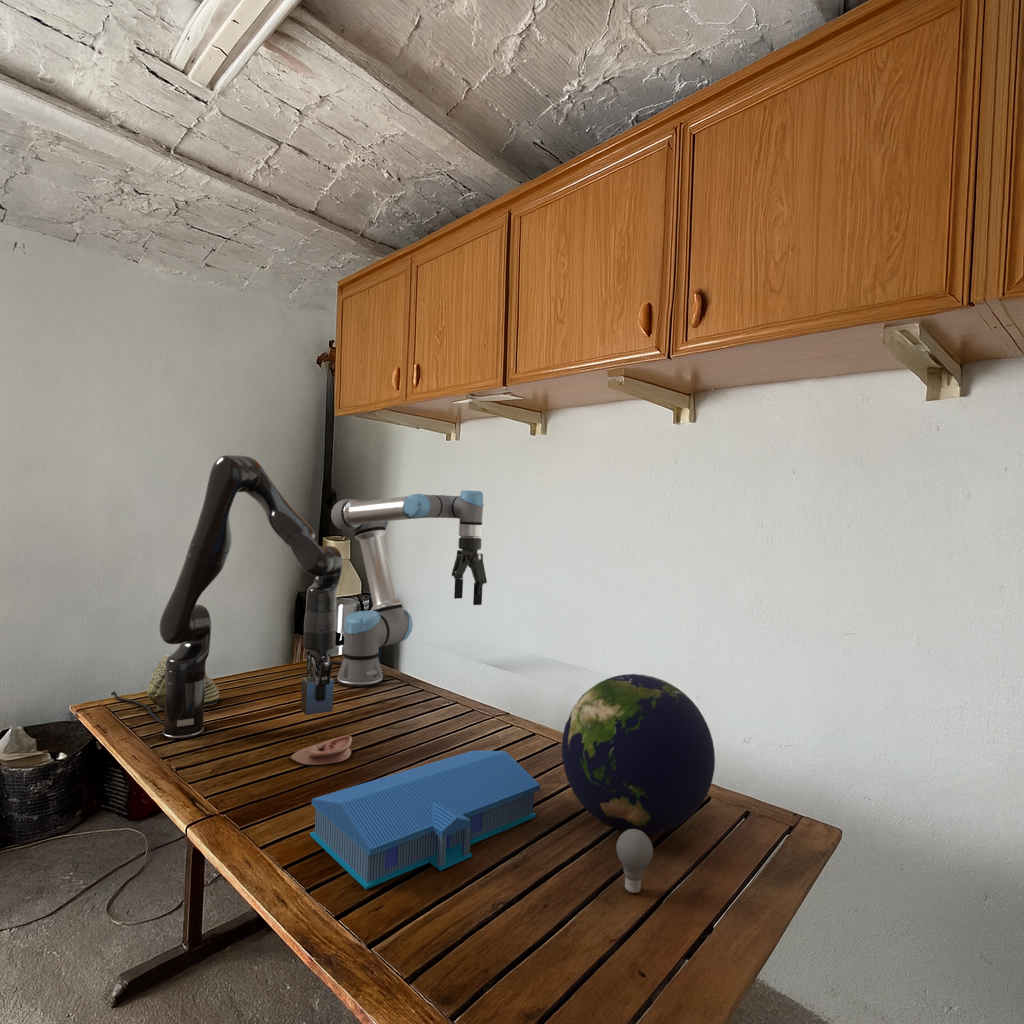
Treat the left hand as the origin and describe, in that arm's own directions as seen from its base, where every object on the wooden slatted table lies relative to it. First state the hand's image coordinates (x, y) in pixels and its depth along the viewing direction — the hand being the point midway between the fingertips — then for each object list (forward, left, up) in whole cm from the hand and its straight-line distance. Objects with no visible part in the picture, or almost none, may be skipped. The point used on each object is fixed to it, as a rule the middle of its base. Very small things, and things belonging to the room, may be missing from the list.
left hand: (317, 697), depth 155 cm
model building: (+46, +2, -14) cm, 48 cm away
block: (0, 0, -3) cm, 3 cm away
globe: (+70, +34, -14) cm, 79 cm away
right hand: (-17, +61, +16) cm, 66 cm away
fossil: (-55, -14, -14) cm, 58 cm away
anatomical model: (+2, +1, -14) cm, 14 cm away
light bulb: (+83, +16, -14) cm, 86 cm away
